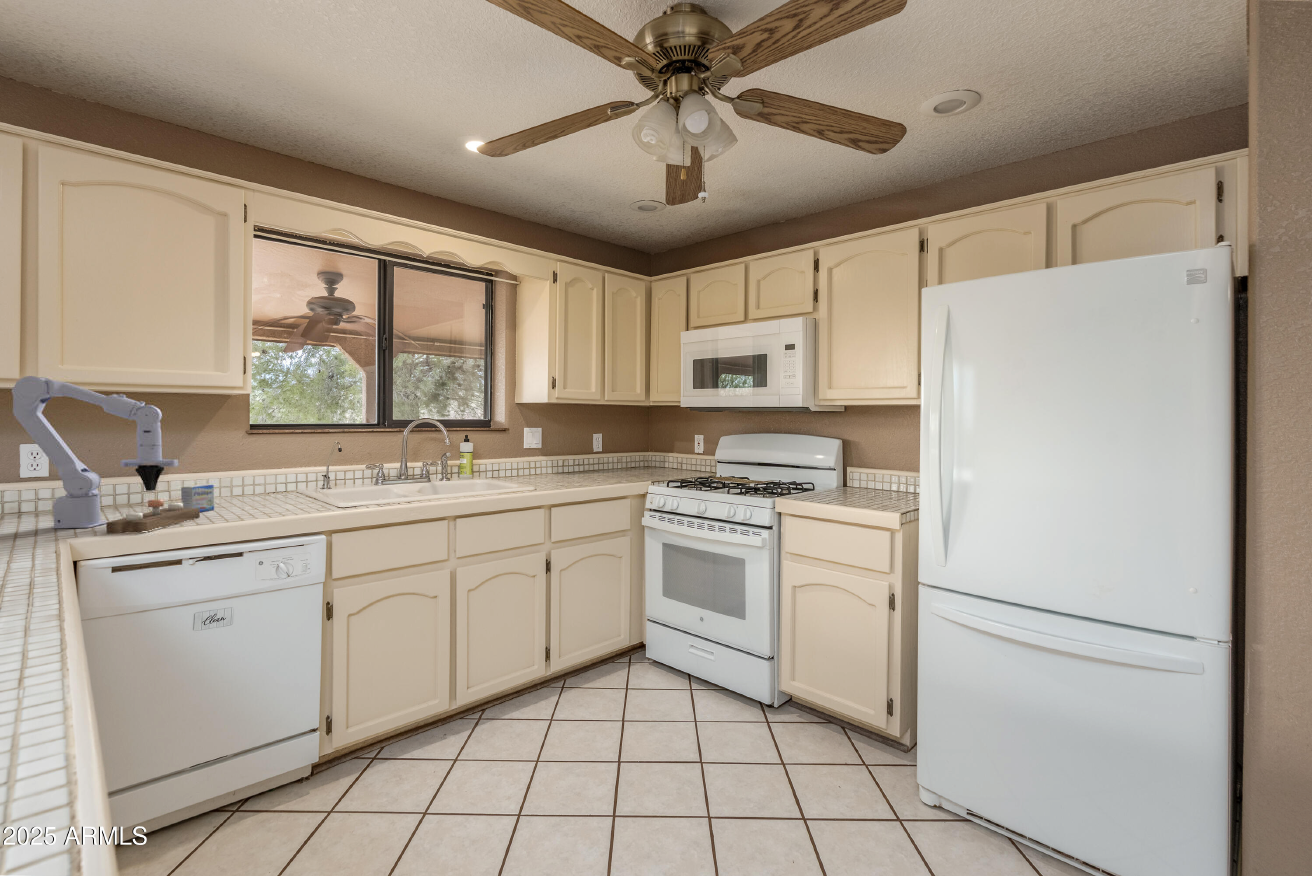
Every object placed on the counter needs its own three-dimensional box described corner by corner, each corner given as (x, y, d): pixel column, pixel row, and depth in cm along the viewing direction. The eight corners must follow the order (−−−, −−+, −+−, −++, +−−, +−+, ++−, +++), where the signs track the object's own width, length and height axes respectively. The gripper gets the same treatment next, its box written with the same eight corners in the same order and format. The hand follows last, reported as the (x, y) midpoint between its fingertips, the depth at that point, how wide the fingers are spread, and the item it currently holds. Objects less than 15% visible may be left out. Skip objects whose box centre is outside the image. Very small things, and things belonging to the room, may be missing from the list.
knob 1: (122, 531, 168) (122, 515, 167) (132, 528, 171) (131, 512, 171) (137, 531, 168) (136, 514, 168) (146, 528, 172) (145, 512, 171)
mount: (106, 533, 166) (106, 522, 166) (164, 517, 190) (164, 508, 189) (147, 532, 167) (146, 521, 167) (199, 517, 191) (199, 507, 191)
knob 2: (165, 519, 185) (165, 504, 185) (173, 517, 189) (173, 503, 189) (178, 519, 186) (178, 504, 186) (186, 517, 189) (185, 502, 189)
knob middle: (145, 516, 176) (144, 501, 176) (153, 514, 180) (153, 499, 180) (158, 516, 177) (158, 501, 177) (166, 514, 180) (166, 499, 180)
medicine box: (192, 513, 198) (192, 487, 197) (181, 513, 198) (180, 486, 198) (214, 509, 205) (214, 484, 205) (203, 509, 206) (203, 483, 206)
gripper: (112, 446, 178) (113, 492, 178) (167, 446, 180) (168, 491, 180) (129, 444, 185) (131, 489, 185) (182, 444, 187) (183, 488, 187)
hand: (150, 490), depth 183 cm, fingers closed
